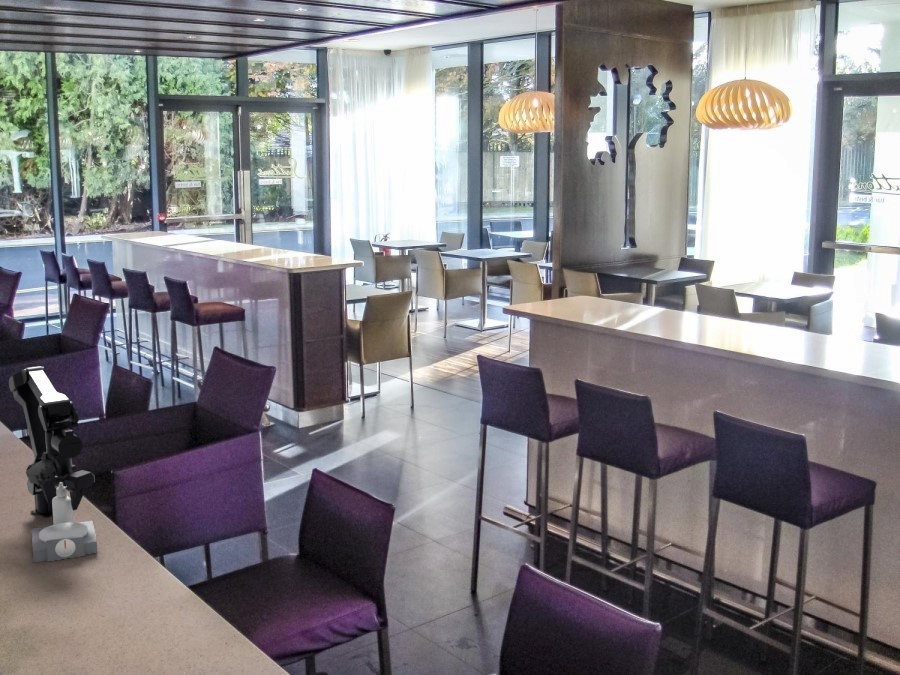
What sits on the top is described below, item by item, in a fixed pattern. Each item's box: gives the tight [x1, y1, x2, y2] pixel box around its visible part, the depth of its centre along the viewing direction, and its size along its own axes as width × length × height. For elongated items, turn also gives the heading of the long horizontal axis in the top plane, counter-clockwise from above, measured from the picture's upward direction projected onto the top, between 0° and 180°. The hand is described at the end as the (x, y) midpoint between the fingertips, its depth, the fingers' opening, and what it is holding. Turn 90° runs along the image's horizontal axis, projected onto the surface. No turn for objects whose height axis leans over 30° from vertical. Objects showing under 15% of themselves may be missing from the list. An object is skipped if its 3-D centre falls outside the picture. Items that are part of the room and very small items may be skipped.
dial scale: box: [31, 520, 98, 564], centre depth 226 cm, size 15×14×5 cm
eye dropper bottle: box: [52, 482, 75, 525], centre depth 237 cm, size 4×6×12 cm
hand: (62, 506), depth 237 cm, fingers open, 9 cm apart
